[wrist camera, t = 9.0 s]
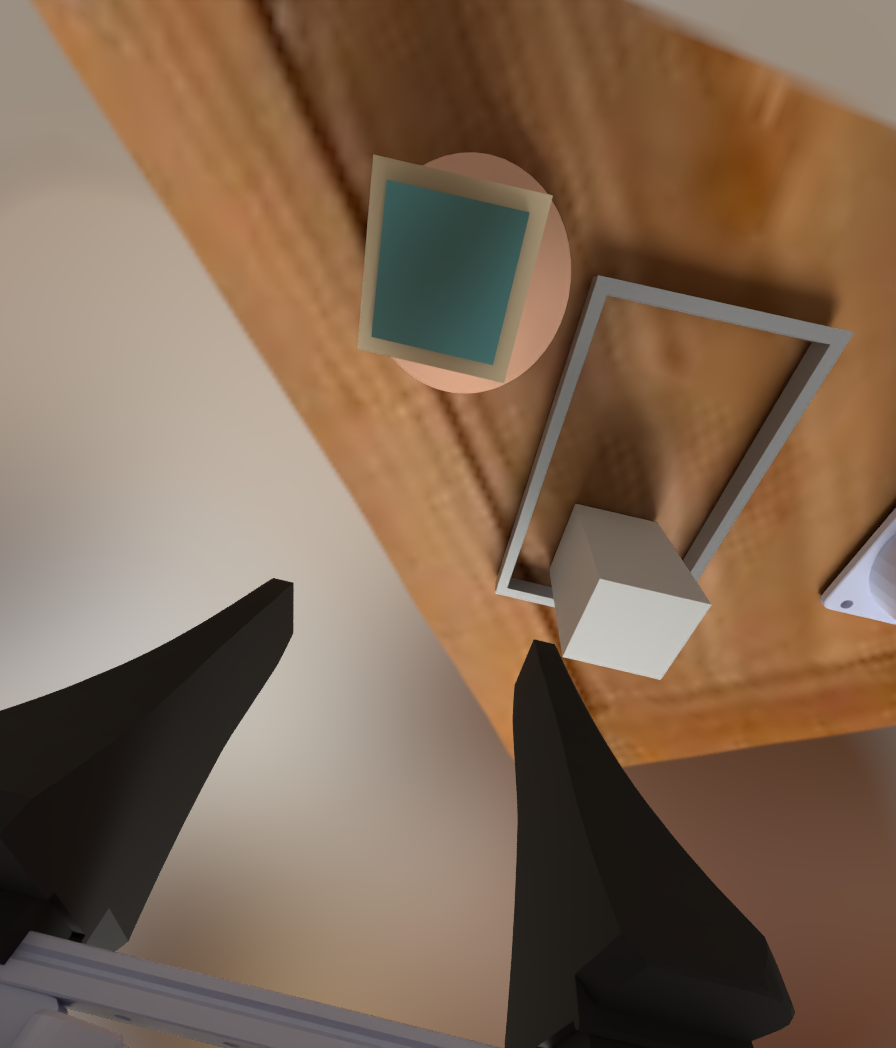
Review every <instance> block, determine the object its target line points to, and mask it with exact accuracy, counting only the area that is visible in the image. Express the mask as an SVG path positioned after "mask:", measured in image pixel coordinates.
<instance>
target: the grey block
mask: <svg viewBox="0 0 896 1048" xmlns="http://www.w3.org/2000/svg"><path fill="white" fill-rule="evenodd" d="M549 572H550V578H551V585H552V591H553V598H554V604H555V611H556V617H557V624H558V631H559V637H560V644H561V650H562V657H566V658H570V659H574V660H578V661H583V662H587V663H591V664H595V665H600V666H604V667H608V668H612V669H617V670H621V671H625V672H630V673H634V674H638V675H642V676H647V677H651V678H655V679H659V680H661V678H662V677H663V676H664V674H665V673H666V671H667V670H668V668H669V667H670V665H671V664H672V662H673V661H674V659H675V658H676V656H677V655H678V653H679V652H680V651H681V649H682V648H683V646H684V645H685V643H686V642H687V640H688V639H689V637H690V636H691V634H692V633H693V631H694V630H695V628H696V627H697V625H698V624H699V623H700V621H701V620H702V618H703V617H704V615H705V614H706V612H707V611H708V609H709V608H710V606H711V603H710V602H709V600H708V599H707V597H706V596H705V594H704V592H703V591H702V589H701V588H700V586H699V585H698V583H697V582H696V580H695V579H694V577H693V576H692V574H691V573H690V571H689V570H688V568H687V567H686V565H685V564H684V562H683V561H682V559H681V558H680V556H679V554H678V553H677V551H676V550H675V548H674V547H673V545H672V544H671V542H670V541H669V539H668V538H667V536H666V535H665V533H664V532H663V530H662V529H661V527H660V526H659V524H658V523H657V522H653V521H649V520H645V519H640V518H636V517H632V516H627V515H623V514H618V513H614V512H610V511H605V510H601V509H597V508H592V507H588V506H584V505H579V504H575V506H574V508H573V511H572V513H571V516H570V518H569V521H568V523H567V526H566V528H565V531H564V533H563V536H562V539H561V541H560V544H559V546H558V549H557V551H556V554H555V556H554V559H553V561H552V564H551V566H550V569H549Z"/></svg>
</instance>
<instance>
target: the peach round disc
mask: <svg viewBox="0 0 896 1048" xmlns="http://www.w3.org/2000/svg"><path fill="white" fill-rule="evenodd" d="M423 166H426V167H430V168H435V169H439V170H444V171H448V172H452V173H457V174H461V175H465V176H470V177H474V178H478V179H483V180H487V181H491V182H496V183H500V184H505V185H509V186H513V187H518V188H522V189H526V190H531V191H535V192H539V193H544V194H547V193H546V191H545V190H544V189H543V187H542V186H541V185H540V184H539V183H538V182H537V181H536V180H535V179H534V178H533V177H532V176H531V175H530V174H528V173H527V172H526V171H524V170H523V169H521V168H520V167H519V166H517V165H515V164H513V163H511V162H509V161H507V160H505V159H503V158H500V157H497V156H493V155H490V154H484V153H476V152H467V153H456V154H451V155H446V156H443V157H440V158H438V159H435V160H433V161H430V162H428V163H426V164H425V165H423ZM570 283H571V257H570V248H569V243H568V239H567V235H566V230H565V228H564V225H563V222H562V220H561V217H560V214H559V212H558V211H557V209H556V207H555V205H554V203H553V201H551V205H550V209H549V213H548V217H547V220H546V224H545V228H544V232H543V236H542V240H541V243H540V247H539V251H538V255H537V259H536V263H535V267H534V270H533V274H532V278H531V282H530V286H529V290H528V293H527V297H526V301H525V305H524V309H523V313H522V317H521V320H520V324H519V328H518V332H517V336H516V340H515V343H514V347H513V351H512V355H511V359H510V363H509V367H508V370H507V374H506V378H505V382H504V383H501V382H497V381H492V380H488V379H484V378H480V377H475V376H471V375H467V374H462V373H458V372H454V371H450V370H445V369H441V368H437V367H433V366H428V365H424V364H420V363H415V362H411V361H407V360H403V359H398V358H394V357H392V358H393V359H394V360H395V361H396V362H397V363H398V364H399V365H400V367H401V368H402V369H404V370H405V371H406V372H407V373H409V374H410V375H411V376H412V377H414V378H416V379H417V380H419V381H421V382H422V383H424V384H426V385H429V386H431V387H433V388H436V389H439V390H443V391H447V392H453V393H477V392H483V391H487V390H491V389H494V388H497V387H500V386H502V385H505V384H506V383H508V382H510V381H512V380H514V379H515V378H517V377H518V376H520V375H521V374H522V373H524V372H525V371H526V370H528V369H529V368H530V367H531V366H532V365H533V364H534V363H535V362H536V361H537V360H538V359H539V357H540V356H541V355H542V354H543V353H544V351H545V350H546V349H547V347H548V346H549V344H550V343H551V341H552V340H553V338H554V336H555V334H556V332H557V330H558V328H559V326H560V324H561V321H562V318H563V315H564V313H565V310H566V306H567V301H568V297H569V291H570Z"/></svg>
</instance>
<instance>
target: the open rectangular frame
mask: <svg viewBox="0 0 896 1048" xmlns="http://www.w3.org/2000/svg"><path fill="white" fill-rule="evenodd" d="M606 296H611V297H615V298H619V299H624V300H628V301H633V302H637V303H642V304H646V305H651V306H655V307H660V308H664V309H669V310H673V311H677V312H682V313H686V314H691V315H695V316H700V317H704V318H709V319H713V320H718V321H722V322H727V323H731V324H735V325H740V326H744V327H749V328H753V329H758V330H762V331H767V332H771V333H776V334H780V335H784V336H789V337H793V338H798V339H802V340H807V341H811V342H812V343H811V345H810V346H809V348H808V350H807V351H806V353H805V355H804V357H803V358H802V360H801V362H800V363H799V365H798V367H797V368H796V370H795V372H794V373H793V375H792V377H791V378H790V380H789V382H788V384H787V385H786V387H785V389H784V390H783V392H782V394H781V395H780V397H779V399H778V400H777V402H776V404H775V406H774V407H773V409H772V411H771V412H770V414H769V416H768V417H767V419H766V421H765V422H764V424H763V426H762V428H761V429H760V431H759V433H758V434H757V436H756V438H755V439H754V441H753V443H752V444H751V446H750V448H749V449H748V451H747V453H746V455H745V456H744V458H743V460H742V461H741V463H740V465H739V466H738V468H737V470H736V471H735V473H734V475H733V477H732V478H731V480H730V482H729V483H728V485H727V487H726V488H725V490H724V492H723V493H722V495H721V497H720V499H719V500H718V502H717V504H716V505H715V507H714V509H713V510H712V512H711V514H710V515H709V517H708V519H707V521H706V522H705V524H704V526H703V527H702V529H701V531H700V532H699V534H698V536H697V537H696V539H695V541H694V542H693V544H692V546H691V548H690V549H689V551H688V553H687V554H686V556H685V558H684V559H683V562H684V564H685V565H686V567H687V568H688V570H689V571H690V573H691V574H692V576H693V577H694V579H695V580H696V582H697V580H698V579H699V577H700V576H701V574H702V572H703V571H704V569H705V568H706V566H707V565H708V563H709V561H710V560H711V558H712V557H713V555H714V553H715V552H716V550H717V549H718V547H719V546H720V544H721V542H722V541H723V539H724V538H725V536H726V534H727V533H728V531H729V530H730V528H731V527H732V525H733V523H734V522H735V520H736V519H737V517H738V515H739V514H740V512H741V511H742V509H743V508H744V506H745V504H746V503H747V501H748V500H749V498H750V497H751V495H752V493H753V492H754V490H755V489H756V487H757V485H758V484H759V482H760V481H761V479H762V478H763V476H764V474H765V473H766V471H767V470H768V468H769V466H770V465H771V463H772V462H773V460H774V459H775V457H776V455H777V454H778V452H779V451H780V449H781V447H782V446H783V444H784V443H785V441H786V440H787V438H788V436H789V435H790V433H791V432H792V430H793V429H794V427H795V425H796V424H797V422H798V421H799V419H800V417H801V416H802V414H803V413H804V411H805V410H806V408H807V406H808V405H809V403H810V402H811V400H812V398H813V397H814V395H815V394H816V392H817V391H818V389H819V387H820V386H821V384H822V383H823V381H824V380H825V378H826V376H827V375H828V373H829V372H830V370H831V368H832V367H833V365H834V364H835V362H836V361H837V359H838V357H839V356H840V354H841V353H842V351H843V349H844V348H845V346H846V345H847V343H848V342H849V340H850V338H851V337H852V335H853V334H854V332H850V331H846V330H841V329H837V328H832V327H828V326H823V325H819V324H814V323H810V322H805V321H801V320H797V319H792V318H788V317H783V316H779V315H774V314H770V313H765V312H761V311H756V310H752V309H747V308H743V307H738V306H734V305H729V304H725V303H721V302H716V301H712V300H707V299H703V298H698V297H694V296H689V295H685V294H680V293H676V292H671V291H667V290H662V289H658V288H653V287H649V286H644V285H640V284H636V283H631V282H627V281H622V280H618V279H613V278H609V277H604V276H600V275H597V276H593V279H592V282H591V285H590V288H589V291H588V294H587V297H586V301H585V304H584V307H583V310H582V313H581V316H580V319H579V322H578V326H577V329H576V332H575V335H574V338H573V341H572V344H571V348H570V351H569V354H568V357H567V360H566V363H565V366H564V369H563V373H562V376H561V379H560V382H559V385H558V388H557V391H556V394H555V398H554V401H553V404H552V407H551V410H550V413H549V416H548V420H547V423H546V426H545V429H544V432H543V435H542V438H541V441H540V445H539V448H538V451H537V454H536V457H535V460H534V463H533V466H532V470H531V473H530V476H529V479H528V482H527V485H526V488H525V492H524V495H523V498H522V501H521V504H520V507H519V510H518V513H517V517H516V520H515V523H514V526H513V529H512V532H511V535H510V539H509V542H508V545H507V548H506V551H505V554H504V557H503V560H502V564H501V567H500V570H499V573H498V576H497V579H496V586H495V593H496V594H500V595H504V596H509V597H513V598H517V599H521V600H526V601H530V602H534V603H538V604H543V605H547V606H551V607H555V604H554V598H553V591H552V587H549V586H545V585H540V584H536V583H532V582H528V581H523V580H519V579H515V578H511V575H512V572H513V569H514V566H515V563H516V561H517V558H518V555H519V552H520V549H521V546H522V543H523V540H524V537H525V534H526V531H527V528H528V525H529V522H530V519H531V516H532V514H533V511H534V508H535V505H536V502H537V499H538V496H539V493H540V490H541V487H542V484H543V481H544V478H545V475H546V472H547V469H548V467H549V464H550V461H551V458H552V455H553V452H554V449H555V446H556V443H557V440H558V437H559V434H560V431H561V428H562V425H563V422H564V420H565V417H566V414H567V411H568V408H569V405H570V402H571V399H572V396H573V393H574V390H575V387H576V384H577V381H578V378H579V376H580V373H581V370H582V367H583V364H584V361H585V358H586V355H587V352H588V349H589V346H590V343H591V340H592V337H593V334H594V331H595V329H596V326H597V323H598V320H599V317H600V314H601V311H602V308H603V305H604V302H605V299H606Z"/></svg>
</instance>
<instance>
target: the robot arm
mask: <svg viewBox="0 0 896 1048" xmlns="http://www.w3.org/2000/svg"><path fill="white" fill-rule="evenodd" d="M844 601H845V602H844ZM820 602H821V603H822V604H823V605H824V606H825V607H826V608H828V609H831V610H835V611H840V612H844V613H848V614H853V615H857V616H861V617H865V618H870V619H874V620H878V621H883V622H887V623H891V624H896V508H895V509H894V510H893V511H892V513H891V514H890V515H889V516H888V517H887V519H886V520H885V521H884V522H883V523H882V524H881V526H880V527H879V528H878V529H877V530H876V532H875V533H874V534H873V535H872V536H871V537H870V539H869V540H868V541H867V542H866V543H865V545H864V546H863V547H862V548H861V549H860V550H859V552H858V553H857V554H856V555H855V556H854V558H853V559H852V560H851V561H850V562H849V564H848V565H847V566H846V567H845V568H844V569H843V571H842V572H841V573H840V574H839V575H838V577H837V578H836V579H835V580H834V581H833V582H832V584H831V585H830V586H829V587H828V588H827V590H826V591H825V592H824V593H823V594H822V596H821V597H820ZM842 602H843V603H842ZM292 635H293V583H292V582H288V581H283V580H279V579H275V578H273V579H271V580H269V581H268V582H266V583H265V584H263V585H261V586H260V587H258V588H257V589H255V590H254V591H252V592H251V593H249V594H248V595H246V596H244V597H243V598H241V599H240V600H238V601H237V602H235V603H234V604H232V605H231V606H229V607H227V608H226V609H224V610H222V611H221V612H219V613H218V614H216V615H214V616H213V617H211V618H209V619H208V620H206V621H204V622H203V623H201V624H199V625H198V626H196V627H194V628H192V629H191V630H189V631H187V632H186V633H183V634H182V635H180V636H178V637H176V638H175V639H173V640H171V641H169V642H167V643H165V644H163V645H161V646H160V647H158V648H156V649H154V650H152V651H150V652H148V653H146V654H143V655H142V656H139V657H137V658H135V659H133V660H131V661H129V662H127V663H124V664H122V665H120V666H118V667H115V668H113V669H110V670H108V671H106V672H103V673H101V674H98V675H96V676H94V677H91V678H89V679H86V680H84V681H82V682H79V683H77V684H74V685H72V686H69V687H67V688H64V689H61V690H59V691H56V692H53V693H50V694H48V695H45V696H42V697H39V698H37V699H34V700H31V701H28V702H25V703H22V704H19V705H16V706H13V707H10V708H7V709H5V710H1V711H0V1048H128V1047H127V1046H126V1045H125V1044H124V1043H123V1035H122V1034H119V1033H117V1032H114V1031H111V1030H108V1029H106V1028H103V1027H100V1026H97V1025H95V1024H92V1023H89V1022H86V1021H84V1020H81V1019H78V1018H75V1017H73V1016H70V1015H68V1011H67V1009H66V1008H68V1009H71V1010H75V1011H79V1012H84V1013H87V1014H91V1015H96V1016H99V1017H103V1018H107V1019H111V1020H115V1021H119V1022H123V1023H127V1024H131V1025H135V1026H139V1027H143V1028H147V1029H151V1030H155V1031H160V1032H164V1033H168V1034H172V1035H175V1036H179V1037H183V1038H187V1039H191V1040H195V1041H200V1042H203V1043H207V1044H212V1045H215V1046H219V1047H223V1048H500V1047H496V1046H492V1045H488V1044H485V1043H480V1042H477V1041H472V1040H468V1039H464V1038H460V1037H456V1036H452V1035H448V1034H444V1033H440V1032H436V1031H432V1030H428V1029H424V1028H420V1027H416V1026H412V1025H408V1024H404V1023H400V1022H396V1021H392V1020H388V1019H384V1018H380V1017H376V1016H372V1015H368V1014H364V1013H360V1012H356V1011H352V1010H348V1009H344V1008H339V1007H335V1006H331V1005H327V1004H324V1003H320V1002H316V1001H311V1000H307V999H303V998H299V997H295V996H291V995H287V994H283V993H279V992H275V991H271V990H267V989H263V988H259V987H255V986H251V985H247V984H243V983H239V982H235V981H231V980H227V979H223V978H219V977H215V976H211V975H207V974H202V973H198V972H194V971H190V970H186V969H183V968H178V967H175V966H171V965H166V964H162V963H159V962H155V961H150V960H146V959H142V958H138V957H134V956H130V955H126V954H122V953H118V952H115V951H116V950H118V949H119V948H120V947H122V946H123V945H124V944H125V943H127V942H128V941H129V939H130V936H131V934H132V932H133V930H134V927H135V925H136V923H137V921H138V918H139V916H140V914H141V912H142V910H143V908H144V905H145V903H146V901H147V899H148V897H149V895H150V893H151V890H152V888H153V886H154V884H155V882H156V880H157V878H158V875H159V873H160V871H161V869H162V867H163V865H164V863H165V861H166V859H167V857H168V855H169V852H170V850H171V849H172V847H173V844H174V842H175V840H176V838H177V836H178V834H179V832H180V830H181V828H182V826H183V824H184V822H185V820H186V818H187V816H188V814H189V812H190V810H191V808H192V807H193V805H194V803H195V801H196V799H197V797H198V794H199V793H200V791H201V789H202V787H203V785H204V783H205V781H206V779H207V778H208V776H209V774H210V772H211V770H212V768H213V767H214V764H215V763H216V761H217V759H218V757H219V755H220V753H221V752H222V750H223V748H224V746H225V745H226V743H227V741H228V740H229V738H230V736H231V735H232V733H233V732H234V730H235V729H236V727H237V726H238V724H239V723H240V721H241V720H242V718H243V717H244V715H245V714H246V712H247V711H248V709H249V707H250V706H251V704H252V703H253V701H254V700H255V698H256V697H257V695H258V694H259V692H260V691H261V689H262V688H263V686H264V685H265V683H266V682H267V680H268V679H269V677H270V676H271V674H272V672H273V671H274V669H275V668H276V666H277V664H278V663H279V661H280V659H281V657H282V655H283V653H284V651H285V649H286V647H287V645H288V643H289V641H290V639H291V637H292ZM513 737H514V755H515V771H516V787H517V808H518V831H517V864H516V887H515V908H514V925H513V943H512V959H511V972H510V986H509V987H510V988H509V1000H508V1013H507V1025H506V1036H505V1048H753V1045H752V1042H751V1041H753V1040H755V1039H758V1038H760V1037H763V1036H765V1035H768V1034H771V1033H773V1032H776V1031H778V1030H780V1029H782V1028H784V1027H785V1026H787V1025H789V1024H790V1022H791V1020H792V1019H793V1016H794V1014H795V1011H794V1008H793V1005H792V1002H791V1000H790V997H789V994H788V992H787V989H786V987H785V984H784V981H783V979H782V976H781V974H780V971H779V968H778V966H777V964H776V962H775V959H774V957H773V955H772V953H771V950H770V948H769V946H768V944H767V941H766V939H765V937H764V936H763V935H762V934H761V933H760V932H759V931H758V929H757V928H755V926H754V925H753V924H752V923H751V922H750V921H749V920H748V919H747V918H746V917H745V916H744V915H743V914H742V913H741V912H740V911H739V910H738V908H736V906H735V905H734V904H733V903H732V902H731V901H730V900H729V899H728V898H727V897H726V896H725V895H724V894H723V893H722V892H721V891H720V890H719V889H718V888H717V887H716V886H715V884H713V882H712V881H711V880H710V879H709V878H708V877H707V876H706V874H705V873H704V872H703V871H702V870H701V868H700V867H699V866H698V865H697V864H696V863H695V862H694V860H693V859H692V858H691V857H690V856H689V855H688V854H687V852H686V851H685V850H684V849H683V848H682V846H681V845H680V844H679V843H678V842H677V840H676V839H675V838H674V837H673V836H672V834H671V833H670V832H669V831H668V829H667V828H666V827H665V825H664V824H663V823H662V822H661V820H660V819H659V818H658V817H657V815H656V814H655V813H654V812H653V810H652V809H651V808H650V807H649V805H648V804H647V803H646V801H645V800H644V799H643V797H642V796H641V794H640V793H639V792H638V790H637V789H636V788H635V786H634V785H633V783H632V782H631V780H630V779H629V777H628V776H627V774H626V773H625V772H624V770H623V769H622V767H621V766H620V764H619V763H618V761H617V759H616V758H615V756H614V755H613V753H612V752H611V750H610V748H609V747H608V745H607V743H606V742H605V740H604V738H603V737H602V735H601V733H600V732H599V730H598V728H597V727H596V725H595V723H594V721H593V719H592V718H591V716H590V714H589V712H588V710H587V708H586V707H585V705H584V703H583V701H582V699H581V697H580V695H579V693H578V691H577V689H576V687H575V685H574V683H573V681H572V679H571V677H570V675H569V673H568V671H567V669H566V667H565V665H564V663H563V660H562V658H561V656H560V654H559V652H558V650H557V648H556V646H555V644H551V643H547V642H543V641H538V640H533V643H532V645H531V647H530V650H529V652H528V655H527V657H526V659H525V662H524V664H523V667H522V669H521V671H520V674H519V676H518V679H517V681H516V683H515V688H514V703H513Z"/></svg>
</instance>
